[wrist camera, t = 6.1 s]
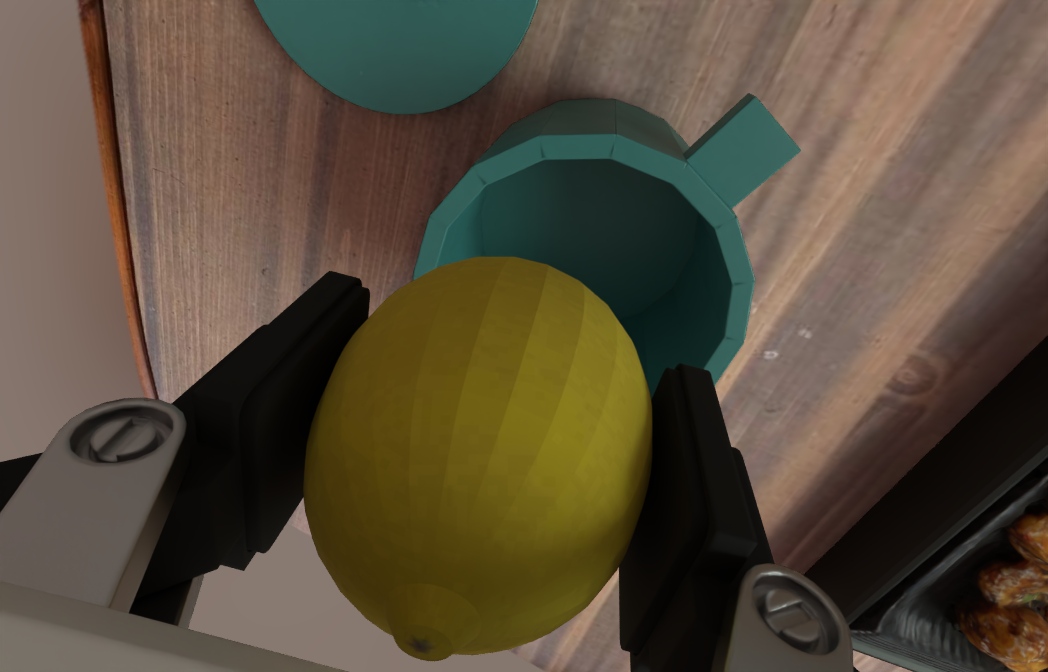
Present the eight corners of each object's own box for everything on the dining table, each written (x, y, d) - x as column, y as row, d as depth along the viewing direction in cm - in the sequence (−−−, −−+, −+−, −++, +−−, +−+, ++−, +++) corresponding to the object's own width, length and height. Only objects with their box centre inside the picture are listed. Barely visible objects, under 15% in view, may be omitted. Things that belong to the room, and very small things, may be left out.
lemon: (639, 192, 11) (679, 464, 4) (643, 411, 14) (671, 795, 7) (384, 212, 12) (91, 459, 5) (434, 413, 15) (279, 750, 8)
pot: (395, 259, 32) (320, 343, 23) (634, -18, 24) (646, -38, 15) (553, 394, 35) (535, 509, 27) (812, 189, 27) (900, 264, 19)
